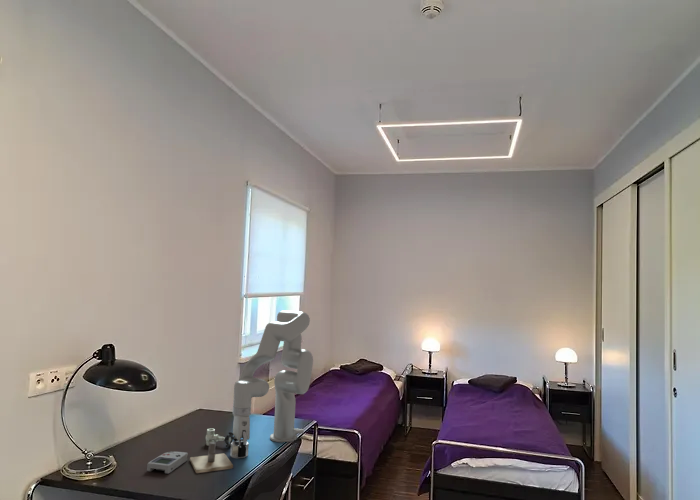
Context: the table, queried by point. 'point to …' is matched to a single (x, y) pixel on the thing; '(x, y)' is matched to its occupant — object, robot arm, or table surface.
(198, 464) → the shaft stand
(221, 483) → the table surface
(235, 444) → the hub
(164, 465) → the handheld gaming device
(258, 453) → the table surface
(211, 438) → the valve
